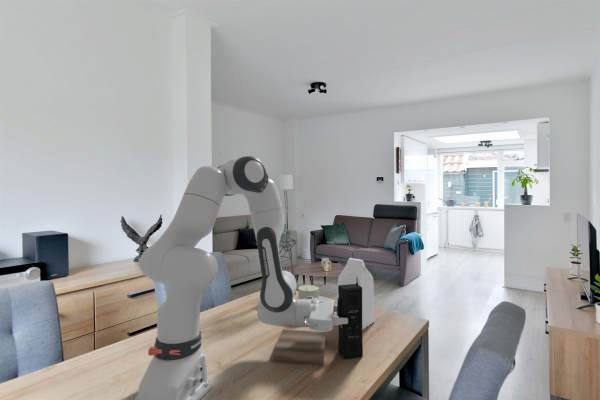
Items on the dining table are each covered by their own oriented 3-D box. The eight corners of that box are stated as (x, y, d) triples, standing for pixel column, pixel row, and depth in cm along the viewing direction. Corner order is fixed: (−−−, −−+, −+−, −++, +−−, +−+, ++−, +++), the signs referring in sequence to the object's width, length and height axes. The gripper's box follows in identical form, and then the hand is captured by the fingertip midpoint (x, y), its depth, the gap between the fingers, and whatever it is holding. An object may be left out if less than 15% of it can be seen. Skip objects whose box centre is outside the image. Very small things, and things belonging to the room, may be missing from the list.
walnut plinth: (323, 365, 107) (323, 355, 107) (272, 362, 109) (272, 352, 109) (326, 340, 125) (326, 331, 125) (282, 337, 127) (282, 329, 127)
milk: (375, 321, 142) (375, 258, 141) (361, 330, 133) (361, 263, 132) (350, 315, 149) (350, 255, 149) (335, 323, 141) (335, 259, 140)
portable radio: (341, 360, 110) (341, 282, 109) (334, 351, 116) (334, 277, 115) (363, 357, 112) (364, 280, 111) (356, 349, 118) (356, 276, 117)
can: (295, 316, 148) (295, 288, 147) (301, 309, 156) (301, 283, 156) (316, 319, 145) (316, 290, 145) (321, 311, 154) (321, 284, 153)
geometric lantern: (283, 312, 153) (281, 233, 152) (255, 307, 161) (253, 232, 160) (301, 302, 166) (299, 229, 165) (275, 297, 174) (272, 228, 173)
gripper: (302, 315, 105) (348, 317, 103) (308, 294, 125) (347, 295, 123) (302, 335, 105) (348, 338, 103) (308, 311, 125) (347, 313, 124)
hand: (347, 314), depth 114 cm, fingers open, 8 cm apart
